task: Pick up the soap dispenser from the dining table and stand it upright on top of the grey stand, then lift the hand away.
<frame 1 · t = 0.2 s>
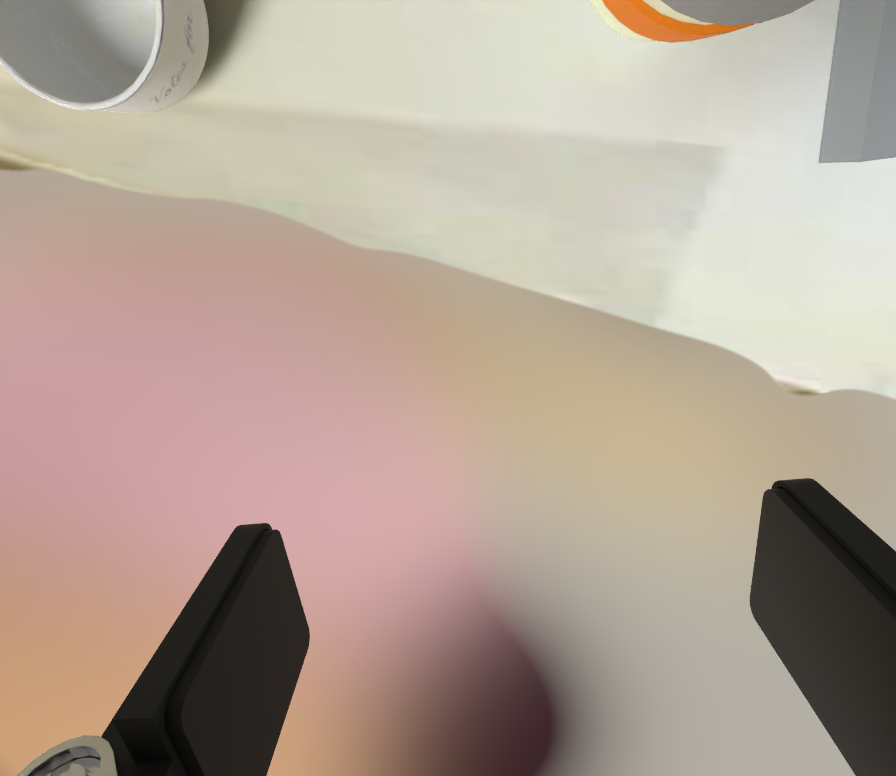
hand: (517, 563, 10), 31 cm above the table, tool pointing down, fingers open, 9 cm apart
teacup: (144, 0, 33), on the table
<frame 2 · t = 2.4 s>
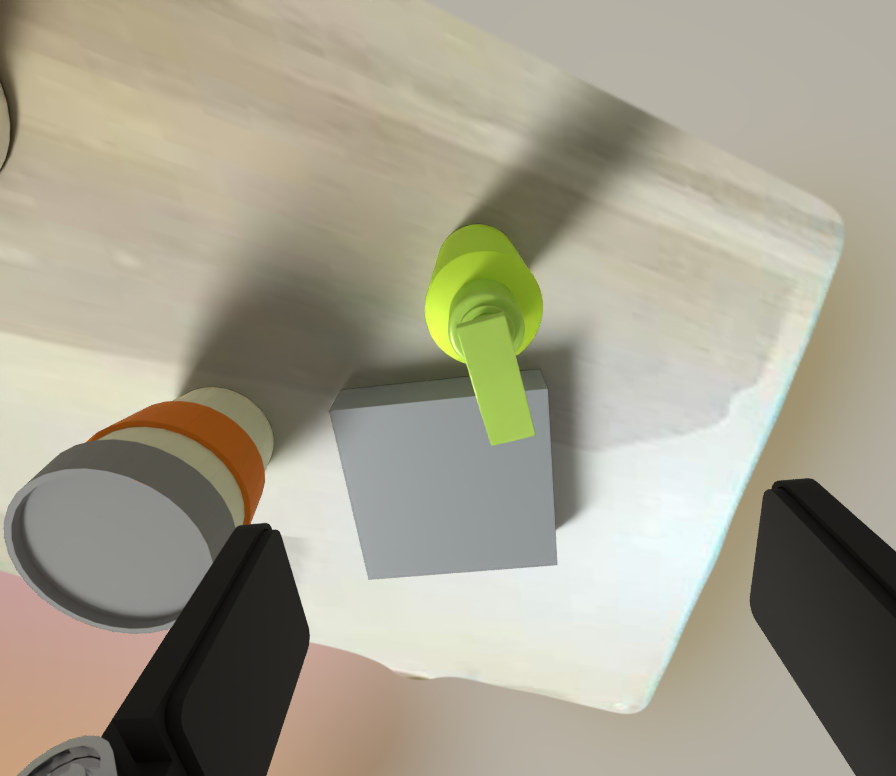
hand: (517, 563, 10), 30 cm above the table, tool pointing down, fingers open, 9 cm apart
reusable coffee cup: (222, 434, 44), on the table
soap dispenser: (478, 272, 38), on the table
stand: (451, 465, 44), on the table
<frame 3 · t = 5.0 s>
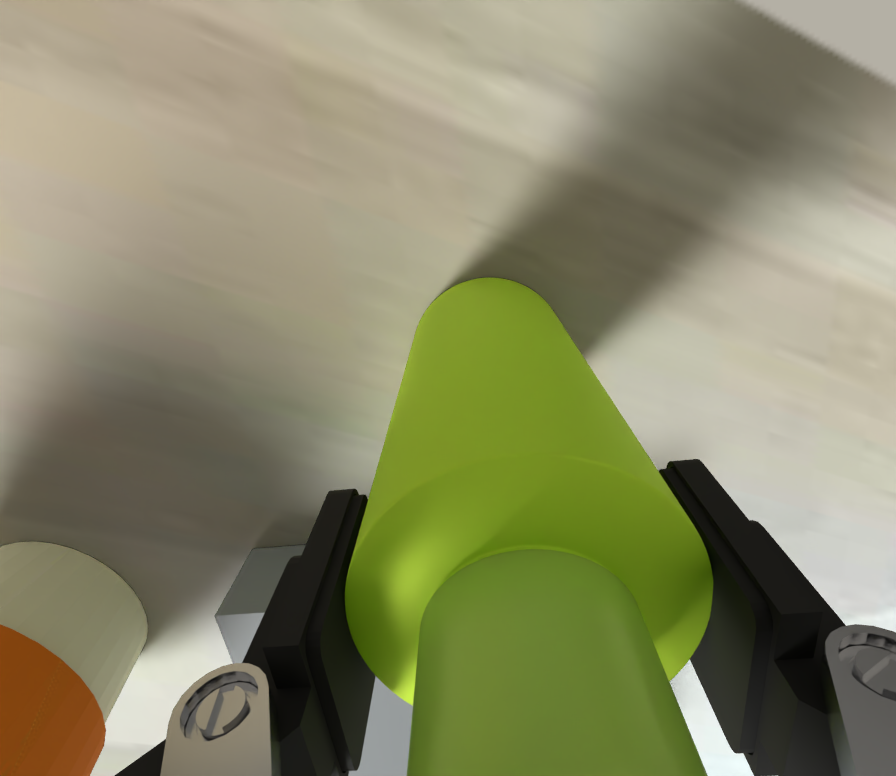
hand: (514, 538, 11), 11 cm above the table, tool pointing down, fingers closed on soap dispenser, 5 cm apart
reusable coffee cup: (62, 609, 27), on the table
soap dispenser: (491, 362, 21), on the table, touching gripper
stand: (441, 660, 27), on the table
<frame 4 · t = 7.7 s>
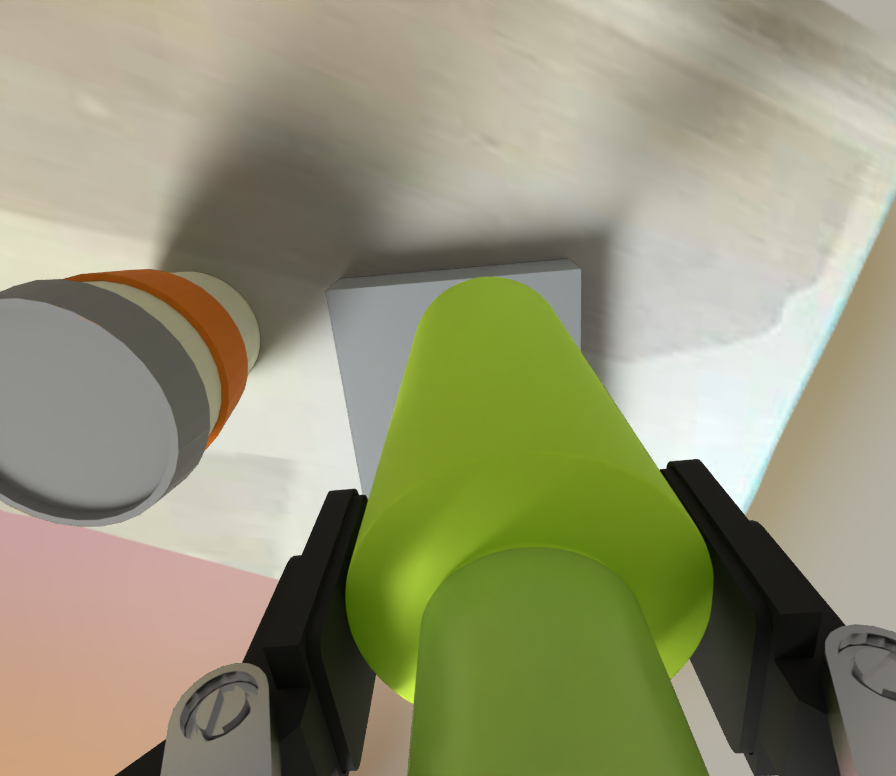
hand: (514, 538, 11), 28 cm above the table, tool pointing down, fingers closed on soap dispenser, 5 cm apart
reusable coffee cup: (201, 331, 39), on the table
soap dispenser: (491, 361, 21), point 17 cm above the table, touching gripper
stand: (462, 376, 39), on the table
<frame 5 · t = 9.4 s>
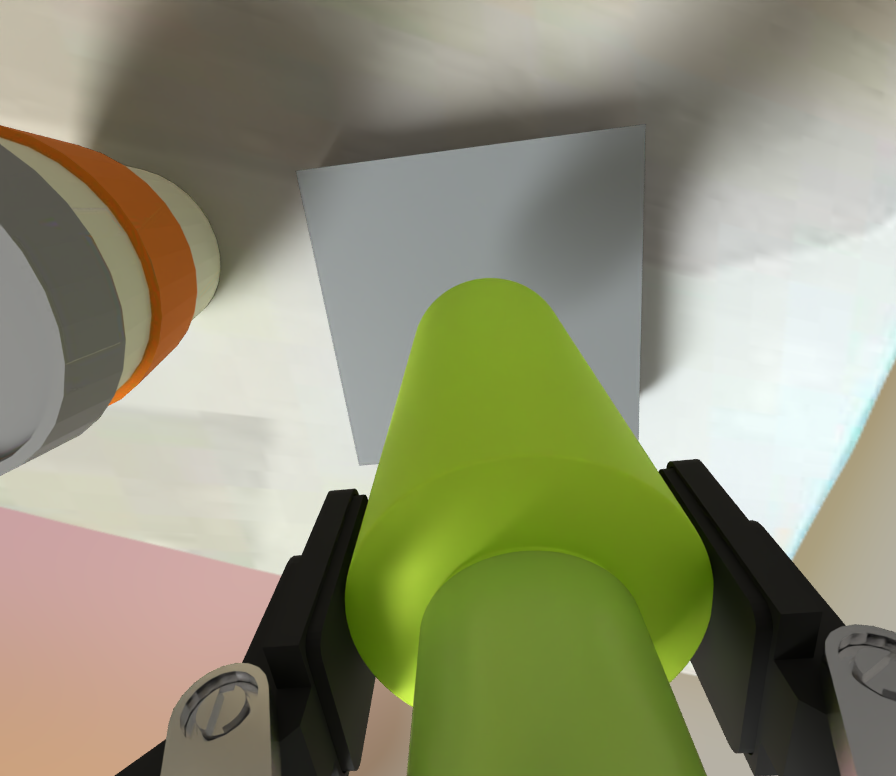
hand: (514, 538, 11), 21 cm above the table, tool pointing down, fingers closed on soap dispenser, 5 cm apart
reusable coffee cup: (144, 251, 30), on the table
soap dispenser: (491, 363, 21), point 11 cm above the table, touching gripper
stand: (480, 299, 30), on the table
when the fingers open (16 cm above the table, at t = 10.8 s): soap dispenser drops 1 cm, resting on stand.
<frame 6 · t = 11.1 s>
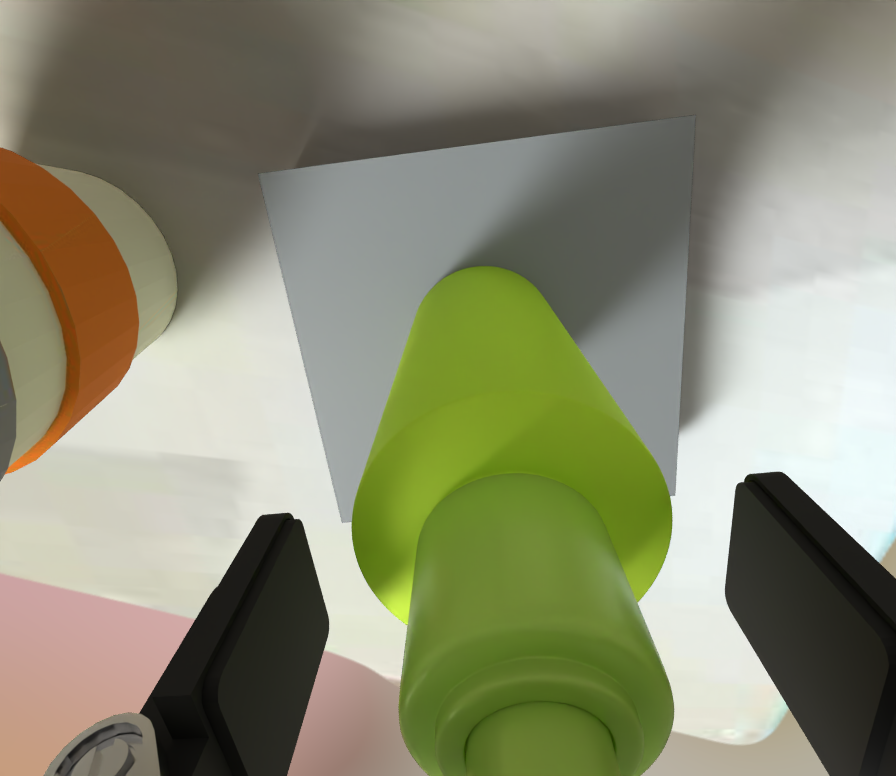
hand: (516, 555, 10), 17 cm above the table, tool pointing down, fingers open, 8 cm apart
reusable coffee cup: (87, 268, 25), on the table
soap dispenser: (486, 347, 22), point 4 cm above the table, touching stand
stand: (486, 326, 26), on the table
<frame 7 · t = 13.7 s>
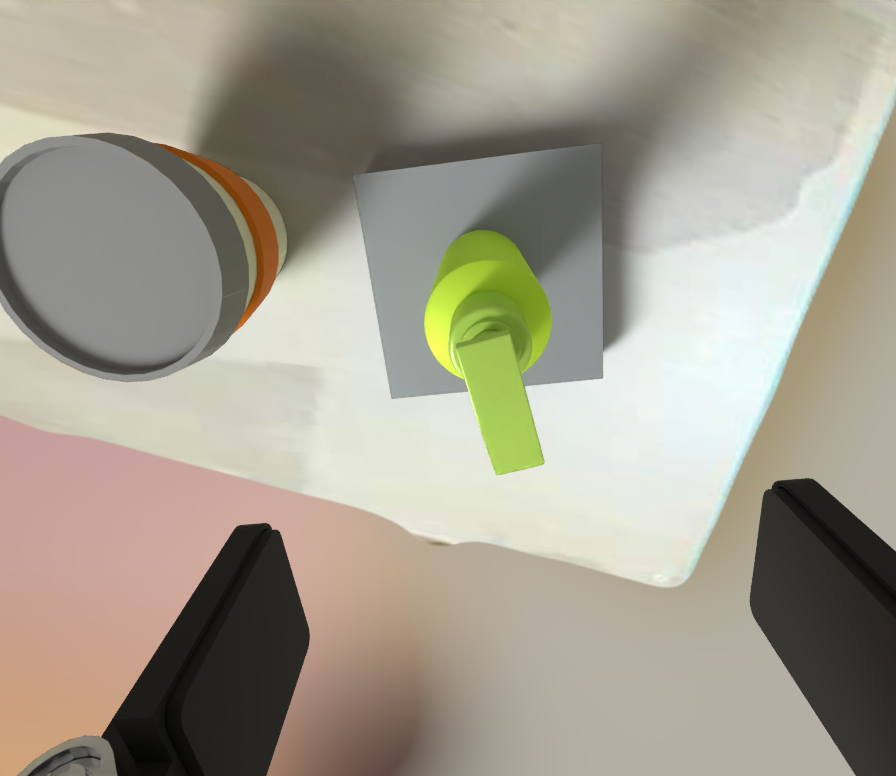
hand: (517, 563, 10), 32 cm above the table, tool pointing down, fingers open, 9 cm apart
reusable coffee cup: (230, 235, 40), on the table
soap dispenser: (484, 280, 36), point 4 cm above the table, touching stand
stand: (484, 273, 40), on the table
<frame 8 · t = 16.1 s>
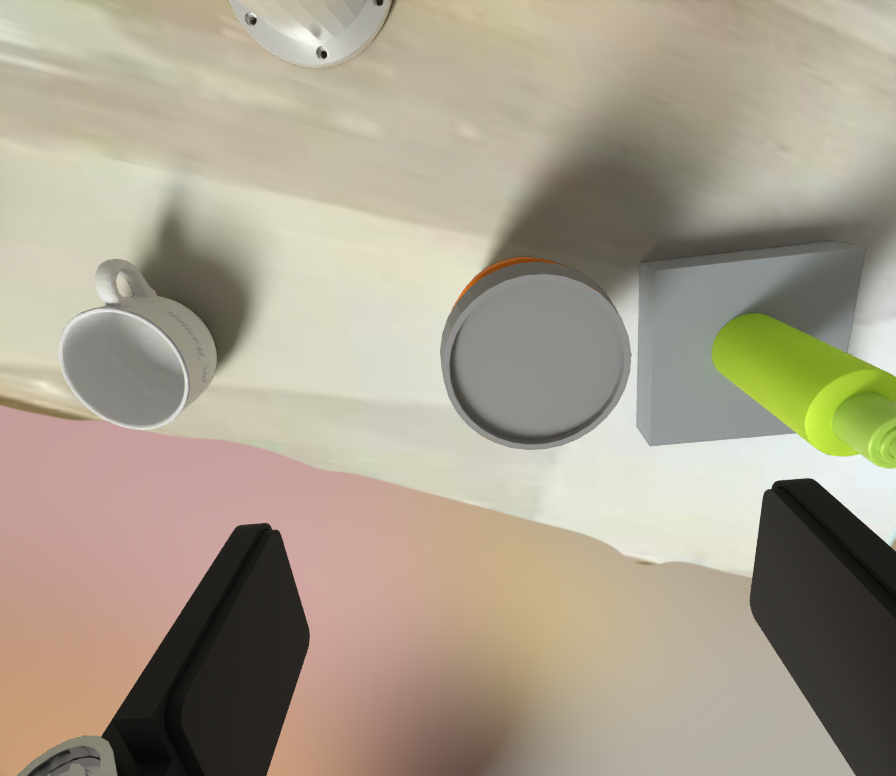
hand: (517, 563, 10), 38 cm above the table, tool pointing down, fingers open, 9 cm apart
reusable coffee cup: (515, 309, 47), on the table
teacup: (173, 326, 49), on the table
soap dispenser: (746, 352, 44), point 4 cm above the table, touching stand
stand: (727, 340, 48), on the table
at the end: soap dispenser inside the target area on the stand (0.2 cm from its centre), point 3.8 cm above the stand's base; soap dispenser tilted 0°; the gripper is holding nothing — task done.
